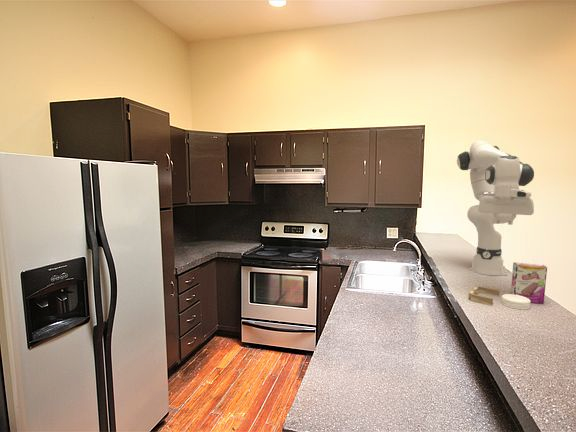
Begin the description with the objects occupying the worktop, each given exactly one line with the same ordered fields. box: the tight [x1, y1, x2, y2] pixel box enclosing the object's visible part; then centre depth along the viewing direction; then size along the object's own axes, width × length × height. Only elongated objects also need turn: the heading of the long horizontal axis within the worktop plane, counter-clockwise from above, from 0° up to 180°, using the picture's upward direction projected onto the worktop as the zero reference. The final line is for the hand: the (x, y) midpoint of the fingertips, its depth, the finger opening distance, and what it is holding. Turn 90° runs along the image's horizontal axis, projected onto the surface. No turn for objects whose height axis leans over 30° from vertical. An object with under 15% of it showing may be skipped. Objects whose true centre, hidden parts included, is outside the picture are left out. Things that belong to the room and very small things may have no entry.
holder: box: [467, 285, 500, 306], centre depth 141 cm, size 15×9×3 cm, turn 137°
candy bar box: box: [510, 262, 548, 305], centre depth 138 cm, size 11×5×16 cm, turn 71°
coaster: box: [500, 293, 531, 311], centre depth 134 cm, size 10×10×4 cm
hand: (503, 224), depth 141 cm, fingers open, 3 cm apart
